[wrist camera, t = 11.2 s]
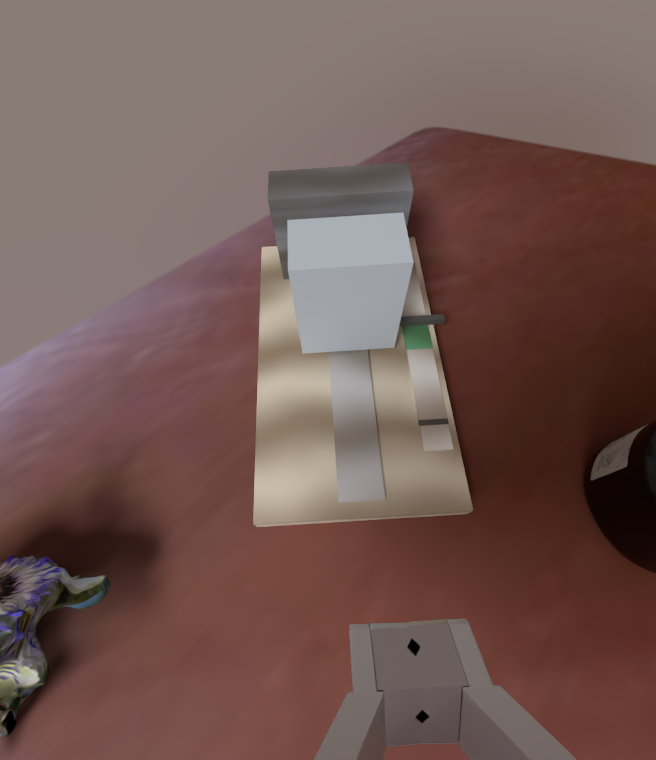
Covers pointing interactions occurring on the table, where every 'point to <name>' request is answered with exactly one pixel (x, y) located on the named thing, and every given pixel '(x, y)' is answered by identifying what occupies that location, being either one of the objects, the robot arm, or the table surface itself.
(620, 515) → the ink bottle
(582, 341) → the table surface
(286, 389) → the bench
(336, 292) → the gauge slider
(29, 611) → the passion flower
